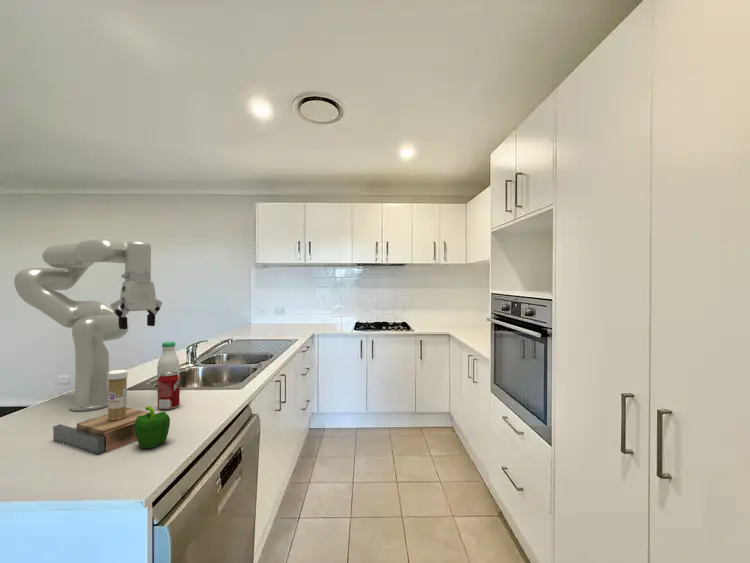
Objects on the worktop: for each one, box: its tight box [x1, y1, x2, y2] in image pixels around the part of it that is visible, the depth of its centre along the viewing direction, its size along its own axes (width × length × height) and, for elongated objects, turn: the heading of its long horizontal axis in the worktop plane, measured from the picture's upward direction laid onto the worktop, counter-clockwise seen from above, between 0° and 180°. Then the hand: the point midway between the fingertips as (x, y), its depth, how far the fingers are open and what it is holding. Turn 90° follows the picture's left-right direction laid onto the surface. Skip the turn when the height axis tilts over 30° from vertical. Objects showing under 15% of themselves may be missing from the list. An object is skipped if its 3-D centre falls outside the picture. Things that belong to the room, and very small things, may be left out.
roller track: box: [52, 407, 137, 456], centre depth 107 cm, size 20×18×5 cm
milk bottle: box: [156, 341, 180, 394], centre depth 148 cm, size 8×8×20 cm
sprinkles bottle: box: [107, 369, 128, 421], centre depth 106 cm, size 5×5×14 cm
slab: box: [76, 407, 148, 437], centre depth 106 cm, size 12×14×2 cm
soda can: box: [157, 372, 181, 411], centre depth 131 cm, size 7×7×12 cm
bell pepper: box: [134, 405, 171, 449], centre depth 102 cm, size 8×8×10 cm
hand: (137, 327), depth 129 cm, fingers open, 9 cm apart
